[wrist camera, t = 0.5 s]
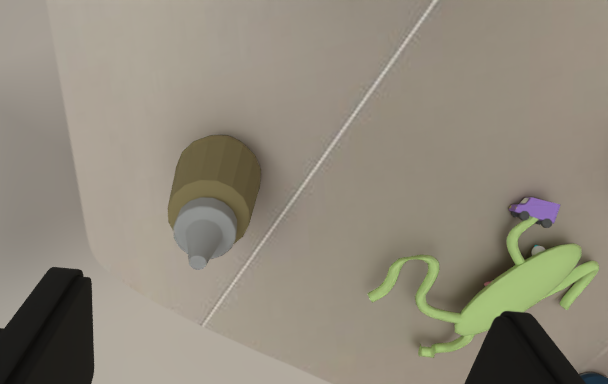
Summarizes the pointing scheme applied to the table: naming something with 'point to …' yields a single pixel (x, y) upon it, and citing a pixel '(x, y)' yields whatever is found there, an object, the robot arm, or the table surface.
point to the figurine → (505, 279)
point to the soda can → (593, 378)
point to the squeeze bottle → (212, 197)
